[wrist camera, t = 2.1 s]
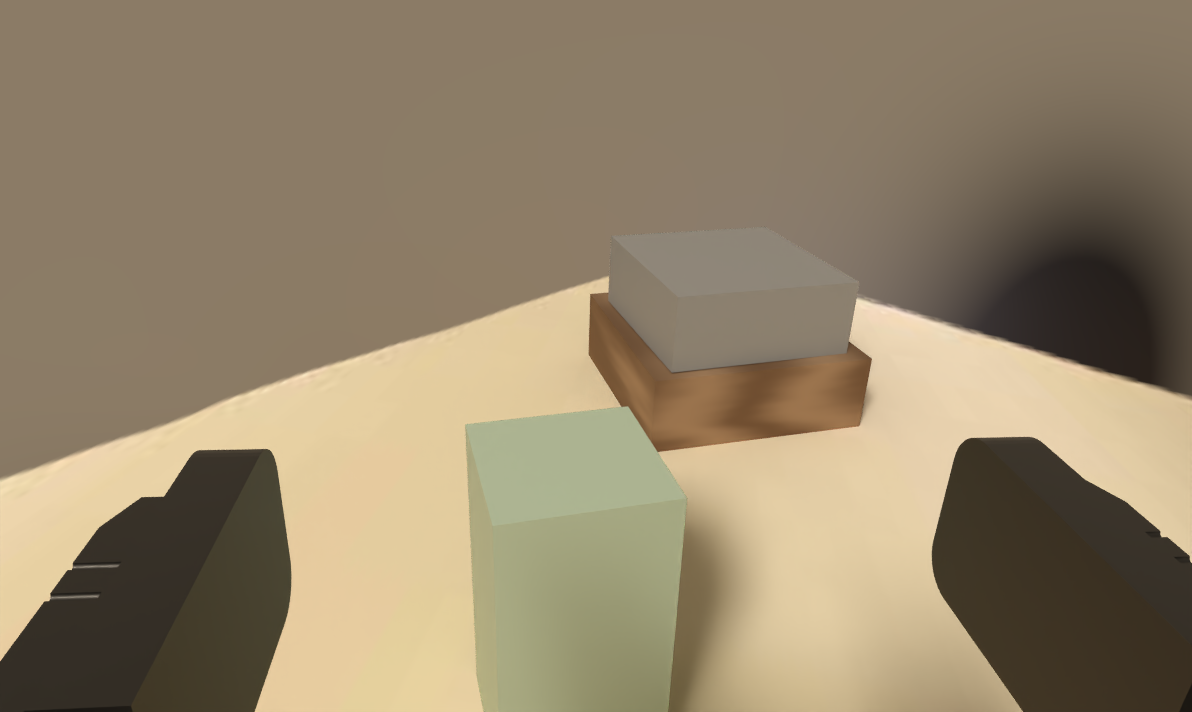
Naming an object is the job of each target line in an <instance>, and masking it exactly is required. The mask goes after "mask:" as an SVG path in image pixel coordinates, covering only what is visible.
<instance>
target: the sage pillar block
mask: <svg viewBox="0 0 1192 712" xmlns="http://www.w3.org/2000/svg"><path fill="white" fill-rule="evenodd" d="M465 429H466V451H467V472H468V494H469V516H470V537H471V559H472V581H473V603H474V624H475V646H476V668H477V680H478V685H479V691H480V696H481V701H482V706H483V712H668V708H669V697H670V685H671V674H672V663H673V652H674V640H675V629H676V618H677V607H678V595H679V584H680V573H681V562H682V550H683V539H684V528H685V517H686V506H687V497H686V496H685V494H684V492H683V491H682V489H681V488H680V486H679V485H678V483H677V482H676V480H675V478H674V477H673V475H672V474H671V472H670V471H669V469H668V468H667V466H666V464H665V463H664V461H663V460H662V458H661V457H660V455H659V454H658V452H657V450H656V449H655V447H654V446H653V444H652V443H651V441H650V440H649V438H648V436H647V435H646V433H645V432H644V430H643V429H642V427H641V426H640V424H639V423H638V421H637V419H636V418H635V416H634V415H633V413H632V412H631V410H630V409H629V407H628V406H627V407H618V408H609V409H600V410H591V411H582V412H573V413H564V414H555V415H546V416H537V417H528V418H519V419H510V420H501V421H492V422H483V423H474V424H465Z"/></svg>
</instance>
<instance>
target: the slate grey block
mask: <svg viewBox="0 0 1192 712" xmlns="http://www.w3.org/2000/svg"><path fill="white" fill-rule="evenodd" d="M858 287H859V282H858V281H856V280H855V279H853V278H851V277H850V276H848V275H846V274H845V273H843V272H841V271H839V270H838V269H836V268H834V267H832V266H831V265H829V264H828V263H826V262H824V261H822V260H821V259H819V258H817V257H816V256H814V255H812V254H811V253H809V252H807V251H805V250H804V249H802V248H800V247H799V246H797V245H795V244H793V243H792V242H790V241H788V240H787V239H785V238H783V237H782V236H780V235H778V234H776V233H775V232H773V231H771V230H770V229H768V228H766V227H759V228H741V229H724V230H707V231H690V232H673V233H656V234H638V235H623V236H611V252H610V272H609V294H608V301H609V302H610V303H611V304H612V305H613V307H614V308H615V309H616V310H617V311H618V312H619V313H620V315H621V316H622V317H623V318H624V319H625V320H626V321H627V322H628V324H629V325H630V326H631V327H632V328H633V329H634V330H635V332H636V333H637V334H638V335H639V336H640V337H641V338H642V340H643V341H644V342H645V343H646V344H647V345H648V346H649V347H650V349H651V350H652V351H653V352H654V353H655V354H656V355H657V357H658V358H659V359H660V360H661V361H662V362H663V363H664V364H665V366H666V367H667V368H668V369H669V370H670V371H671V372H672V373H674V372H683V371H692V370H701V369H710V368H719V367H728V366H737V365H746V364H755V363H764V362H773V361H782V360H791V359H800V358H809V357H818V356H827V355H836V354H845V353H847V348H848V342H849V337H850V331H851V326H852V320H853V315H854V309H855V304H856V298H857V293H858Z"/></svg>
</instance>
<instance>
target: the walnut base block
mask: <svg viewBox="0 0 1192 712" xmlns="http://www.w3.org/2000/svg"><path fill="white" fill-rule="evenodd" d="M608 294H609V293H599V294H590V328H589V356H590V357H591V359H592V361H593V362H594V364H595V365H596V367H597V368H598V370H599V372H600V373H601V375H602V376H603V378H604V380H605V381H606V383H607V384H608V386H609V387H610V389H611V391H612V392H613V394H614V395H615V397H616V399H617V400H618V402H619V403H620V405H621V406H622V407H627V406H628V407H629V409H630V410H631V412H632V413H633V415H634V416H635V418H636V419H637V421H638V423H639V424H640V426H641V427H642V429H643V430H644V432H645V433H646V435H647V436H648V438H649V440H650V441H651V443H652V444H653V446H654V447H655V449H656V450H657V452H661V451H668V450H676V449H684V448H692V447H700V446H707V445H715V444H723V443H731V442H739V441H747V440H754V439H762V438H770V437H778V436H786V435H794V434H801V433H809V432H817V431H825V430H833V429H841V428H848V427H856V426H859V424H860V419H861V414H862V408H863V403H864V398H865V393H866V387H867V382H868V377H869V372H870V366H871V361H872V359H871V358H870V357H869V356H867V355H866V354H865V353H863V352H862V351H861V350H859V349H858V348H857V347H855V346H854V345H853V344H851V343H850V342H848V348H847V353H845V354H836V355H827V356H818V357H809V358H800V359H791V360H782V361H773V362H764V363H755V364H746V365H737V366H728V367H719V368H710V369H701V370H692V371H683V372H674V373H672V372H671V371H670V370H669V369H668V368H667V367H666V366H665V364H664V363H663V362H662V361H661V360H660V359H659V358H658V357H657V355H656V354H655V353H654V352H653V351H652V350H651V349H650V347H649V346H648V345H647V344H646V343H645V342H644V341H643V340H642V338H641V337H640V336H639V335H638V334H637V333H636V332H635V330H634V329H633V328H632V327H631V326H630V325H629V324H628V322H627V321H626V320H625V319H624V318H623V317H622V316H621V315H620V313H619V312H618V311H617V310H616V309H615V308H614V307H613V305H612V304H611V303H610V302H609V301H608Z"/></svg>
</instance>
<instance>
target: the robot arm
mask: <svg viewBox="0 0 1192 712" xmlns="http://www.w3.org/2000/svg"><path fill="white" fill-rule="evenodd" d="M932 566H933V572H934V577H935V580H936V583H937V586H938V589H939V591H940V593H941V595H942V596H943V598H944V599H945V601H946V602H947V604H948V605H949V607H950V608H951V609H952V611H953V612H954V614H955V615H956V617H957V618H958V619H959V621H960V622H961V624H962V625H963V626H964V628H965V629H966V631H967V632H968V634H969V635H970V636H971V638H972V639H973V641H974V642H975V644H976V645H977V646H978V648H979V649H980V651H981V652H982V654H983V655H984V656H985V658H986V659H987V661H988V662H989V664H990V665H991V666H992V668H993V669H994V671H995V672H996V673H997V675H998V676H999V678H1000V679H1001V681H1002V682H1003V683H1004V685H1005V686H1006V688H1007V689H1008V691H1009V692H1010V693H1011V695H1012V696H1013V698H1014V699H1015V701H1016V702H1017V703H1018V705H1019V706H1020V708H1021V709H1022V711H1023V712H1192V563H1191V562H1190V556H1189V555H1188V554H1187V553H1185V552H1184V551H1183V550H1182V549H1181V548H1179V547H1178V546H1177V545H1176V544H1175V543H1174V542H1172V541H1171V540H1170V539H1169V538H1168V537H1161V535H1160V531H1159V530H1158V529H1157V528H1156V527H1155V526H1154V525H1152V524H1151V523H1150V522H1149V521H1148V520H1147V519H1145V518H1144V517H1143V516H1142V515H1141V514H1139V513H1138V512H1137V511H1136V510H1135V509H1134V508H1132V507H1131V506H1130V505H1129V504H1128V503H1127V502H1125V501H1123V500H1122V499H1120V498H1118V497H1116V496H1114V495H1112V494H1110V493H1109V492H1107V491H1105V490H1103V489H1101V488H1099V487H1097V486H1096V485H1094V484H1092V483H1090V482H1088V481H1086V480H1085V479H1083V478H1082V477H1081V476H1080V475H1079V474H1078V473H1077V472H1075V471H1074V470H1073V469H1072V468H1071V467H1070V466H1069V465H1067V464H1066V463H1065V462H1064V461H1063V460H1062V459H1061V458H1059V457H1058V456H1057V455H1056V454H1055V453H1054V452H1052V451H1051V450H1050V449H1049V448H1048V447H1047V446H1046V445H1044V444H1043V443H1042V442H1041V441H1039V440H1038V439H1035V438H1032V437H1000V438H970V439H967V440H965V441H964V442H963V443H962V444H961V445H960V446H959V448H958V450H957V452H956V455H955V458H954V462H953V465H952V469H951V473H950V477H949V481H948V485H947V489H946V493H945V497H944V501H943V505H942V509H941V513H940V517H939V521H938V525H937V529H936V533H935V537H934V541H933V546H932ZM50 594H51V598H50V601H46V602H44V603H43V604H42V606H41V607H40V608H39V610H38V611H37V612H36V614H35V615H34V616H33V618H32V619H31V620H30V622H29V623H28V624H27V626H26V627H25V629H24V630H23V631H22V633H21V634H20V635H19V637H18V638H17V639H16V641H15V642H14V643H13V645H12V646H11V648H10V649H9V650H8V652H7V653H6V654H5V656H4V657H3V658H2V660H1V661H0V712H255V709H256V706H257V703H258V700H259V697H260V694H261V691H262V688H263V685H264V682H265V679H266V676H267V674H268V671H269V668H270V665H271V662H272V659H273V656H274V653H275V650H276V647H277V644H278V641H279V638H280V636H281V633H282V630H283V627H284V624H285V621H286V617H287V613H288V608H289V602H290V594H291V562H290V555H289V548H288V541H287V534H286V527H285V520H284V513H283V506H282V499H281V492H280V485H279V478H278V471H277V466H276V462H275V458H274V456H273V454H272V452H271V451H270V450H268V449H249V450H199V451H196V452H194V453H193V454H192V455H191V457H190V458H189V460H188V461H187V463H186V464H185V466H184V467H183V469H182V470H181V472H180V473H179V475H178V476H177V478H176V479H175V481H174V482H173V484H172V485H171V487H170V489H169V490H168V492H167V493H166V495H165V496H164V497H141V498H140V499H139V500H137V501H136V502H134V503H133V504H132V505H130V506H129V507H127V508H126V509H125V510H123V511H122V512H120V513H119V514H117V515H116V516H115V517H113V518H112V519H110V520H109V521H108V522H106V523H105V524H103V525H102V526H101V527H99V528H98V530H97V531H96V532H95V534H94V535H93V536H92V538H91V539H90V540H89V542H88V543H87V545H86V546H85V547H84V549H83V550H82V551H81V553H80V554H79V555H78V557H77V558H76V559H75V561H74V562H73V569H72V570H67V572H66V573H65V574H64V576H63V577H62V578H61V580H60V581H59V582H58V584H57V585H56V587H55V588H54V589H53V591H52V592H51V593H50Z"/></svg>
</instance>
